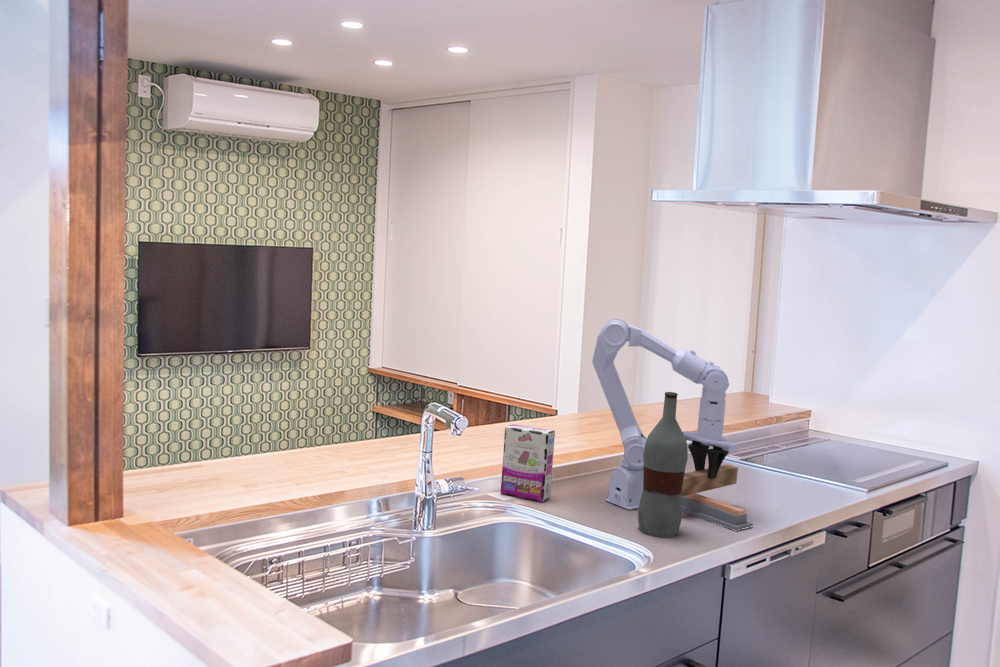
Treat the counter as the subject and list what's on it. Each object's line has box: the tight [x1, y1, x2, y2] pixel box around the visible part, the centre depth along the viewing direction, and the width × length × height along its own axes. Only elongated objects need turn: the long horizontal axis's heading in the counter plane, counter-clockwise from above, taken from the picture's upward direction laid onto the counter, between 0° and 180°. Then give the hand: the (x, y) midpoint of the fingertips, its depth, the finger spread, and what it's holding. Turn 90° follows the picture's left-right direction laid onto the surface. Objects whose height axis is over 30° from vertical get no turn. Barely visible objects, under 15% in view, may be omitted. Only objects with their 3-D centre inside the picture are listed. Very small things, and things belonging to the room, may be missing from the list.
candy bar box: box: [500, 424, 556, 503], centre depth 194 cm, size 11×5×16 cm, turn 65°
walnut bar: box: [681, 463, 739, 497], centre depth 193 cm, size 20×3×4 cm, turn 128°
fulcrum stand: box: [682, 493, 754, 530], centre depth 189 cm, size 6×18×4 cm, turn 37°
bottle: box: [637, 391, 689, 538], centre depth 175 cm, size 9×9×30 cm
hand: (705, 476), depth 192 cm, fingers closed on walnut bar, 3 cm apart
